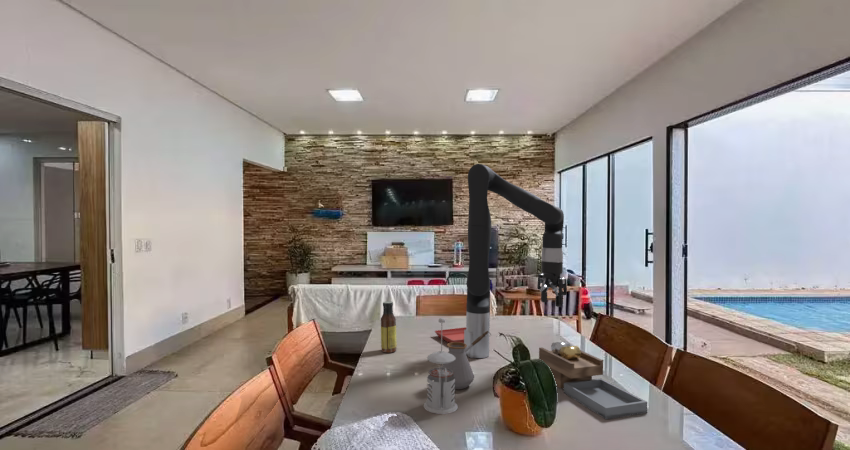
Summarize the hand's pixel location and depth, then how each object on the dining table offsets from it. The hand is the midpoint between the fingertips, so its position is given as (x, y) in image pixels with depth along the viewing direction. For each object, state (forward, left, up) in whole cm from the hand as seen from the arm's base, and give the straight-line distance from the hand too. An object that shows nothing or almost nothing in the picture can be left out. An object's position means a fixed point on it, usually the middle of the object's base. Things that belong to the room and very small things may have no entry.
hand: (551, 304), depth 150 cm
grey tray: (-3, -31, -23) cm, 38 cm away
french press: (-50, -21, -23) cm, 59 cm away
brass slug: (-3, -17, -15) cm, 22 cm away
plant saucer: (-18, +41, -23) cm, 51 cm away
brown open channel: (-3, -15, -23) cm, 28 cm away
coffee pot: (-35, -5, -23) cm, 43 cm away
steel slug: (-3, -11, -15) cm, 19 cm away
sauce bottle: (-53, +33, -23) cm, 67 cm away
